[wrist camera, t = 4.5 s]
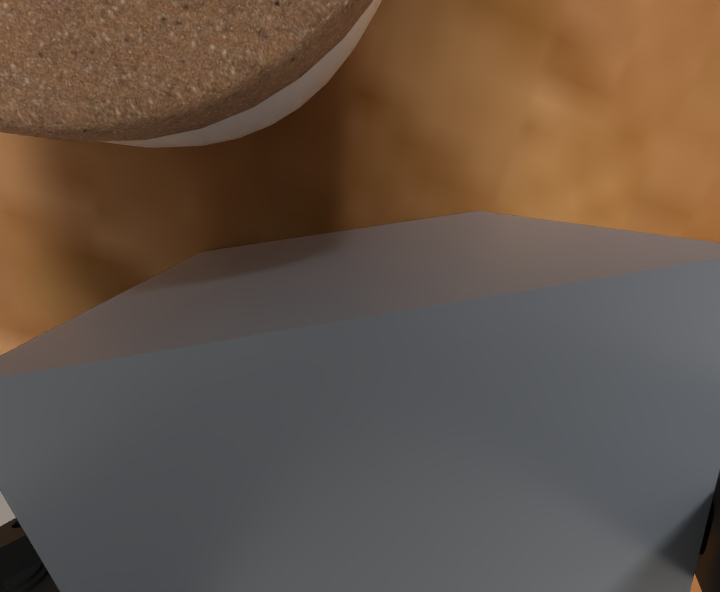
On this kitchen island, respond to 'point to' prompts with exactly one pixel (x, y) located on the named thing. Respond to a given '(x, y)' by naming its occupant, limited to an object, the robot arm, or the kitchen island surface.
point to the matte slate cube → (380, 416)
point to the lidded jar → (167, 66)
